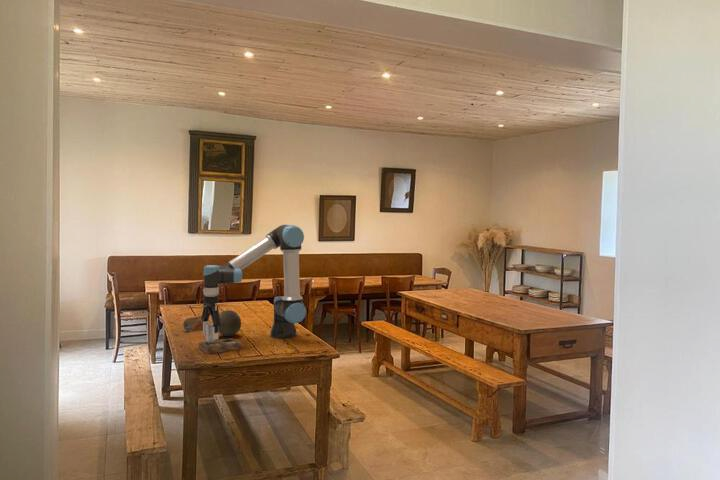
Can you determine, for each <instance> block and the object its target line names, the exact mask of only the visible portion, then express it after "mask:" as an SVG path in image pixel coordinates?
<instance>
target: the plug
mask: <svg viewBox="0 0 720 480" xmlns="http://www.w3.org/2000/svg"><path fill="white" fill-rule="evenodd" d="M212 326H213V322H211V323H210V322H209V324H206V334H205V342H206V344H207V345H209V344H215V340H216V339H213V327H212Z"/></svg>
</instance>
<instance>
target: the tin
mask: <svg viewBox="0 0 720 480" xmlns="http://www.w3.org/2000/svg"><path fill="white" fill-rule="evenodd" d="M201 317H202V315H197V316H191V317H187V318H186V319H184V321H183V324H182V326H183V329H184V330H185V331H187V332H191V333H192V332H196V331H203V319H201Z"/></svg>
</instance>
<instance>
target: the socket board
mask: <svg viewBox="0 0 720 480" xmlns="http://www.w3.org/2000/svg"><path fill="white" fill-rule="evenodd" d="M242 348H243V344H242V342H240V341H238V340H236V339H235V338H232V337H230V338H223V339H215V344H209V345H207V344H206V341H200V342H198V349H200V350H201V351H203V352H204V353H205V354H207V355H208V354H209V355H210V354H216V353H222V352H230V351H236V350H237V351H239V350H242Z"/></svg>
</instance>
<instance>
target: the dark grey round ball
mask: <svg viewBox="0 0 720 480" xmlns="http://www.w3.org/2000/svg"><path fill="white" fill-rule="evenodd" d="M219 318H220V324H221V325H220V326H218V333H220V334H221V335H222V336H224V337H232V336H233V337H234V336H235V335H236V334H238V332H239V331H240V330H241V327H242V320H241V318H240V315H239V313H237V312H236V311H234V310H231V309H229V310H228V309H227V310H223V311H221V312H220V313H219Z"/></svg>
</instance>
